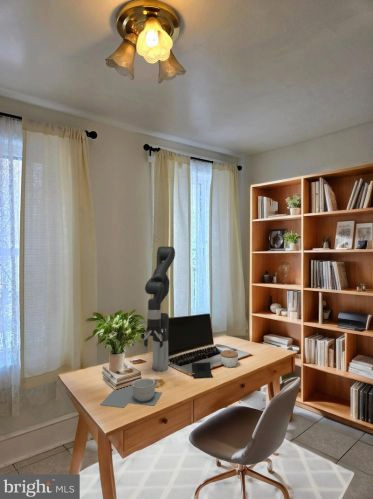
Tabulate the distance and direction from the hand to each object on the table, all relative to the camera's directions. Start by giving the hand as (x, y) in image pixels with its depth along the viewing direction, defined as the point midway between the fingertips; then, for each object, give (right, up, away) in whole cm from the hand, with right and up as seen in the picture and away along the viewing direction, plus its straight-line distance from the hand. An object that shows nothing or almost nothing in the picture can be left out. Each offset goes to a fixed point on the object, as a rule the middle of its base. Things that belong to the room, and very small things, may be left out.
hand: (153, 346), depth 176 cm
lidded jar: (+45, -17, +18) cm, 51 cm away
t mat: (-7, -18, -21) cm, 29 cm away
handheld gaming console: (+27, -18, +4) cm, 33 cm away
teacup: (-1, -18, -22) cm, 29 cm away
